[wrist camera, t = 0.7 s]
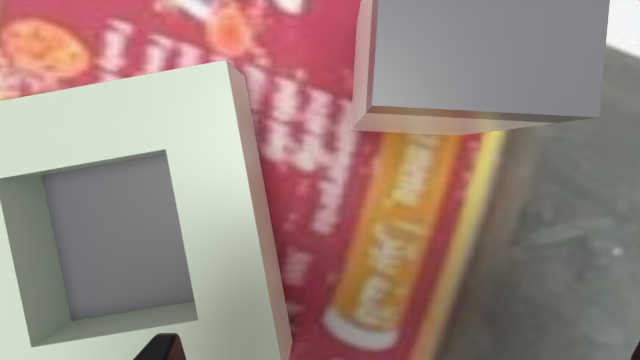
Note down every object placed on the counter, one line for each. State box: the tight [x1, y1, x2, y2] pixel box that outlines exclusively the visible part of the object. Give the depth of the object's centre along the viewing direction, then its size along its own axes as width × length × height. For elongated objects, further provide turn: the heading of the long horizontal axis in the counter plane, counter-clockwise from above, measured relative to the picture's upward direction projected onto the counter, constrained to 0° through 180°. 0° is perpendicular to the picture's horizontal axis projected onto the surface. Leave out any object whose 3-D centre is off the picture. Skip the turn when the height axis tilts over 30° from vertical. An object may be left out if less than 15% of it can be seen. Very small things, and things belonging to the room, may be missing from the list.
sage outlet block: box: [0, 60, 293, 360], centre depth 21 cm, size 13×13×4 cm
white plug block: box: [351, 0, 610, 136], centre depth 16 cm, size 5×5×12 cm
